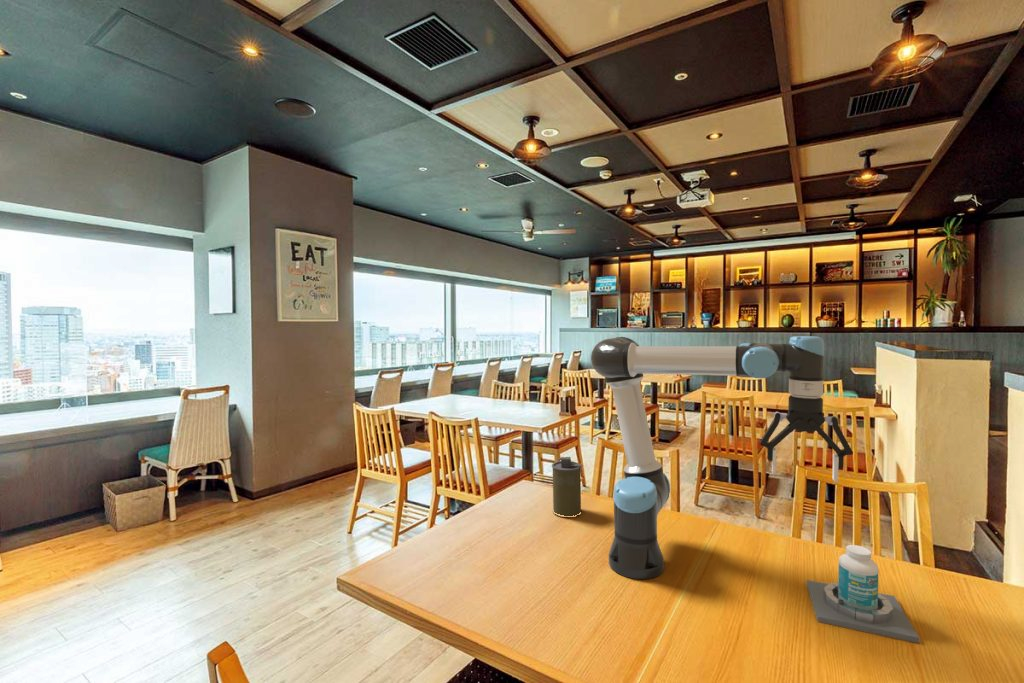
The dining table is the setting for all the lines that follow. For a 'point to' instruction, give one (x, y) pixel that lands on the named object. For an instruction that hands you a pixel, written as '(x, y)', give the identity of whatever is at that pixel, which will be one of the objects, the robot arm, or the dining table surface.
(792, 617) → the dining table surface
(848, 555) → the pill bottle
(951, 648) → the dining table surface
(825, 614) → the board
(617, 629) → the dining table surface
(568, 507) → the canister
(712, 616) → the dining table surface
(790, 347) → the robot arm
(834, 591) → the collar
